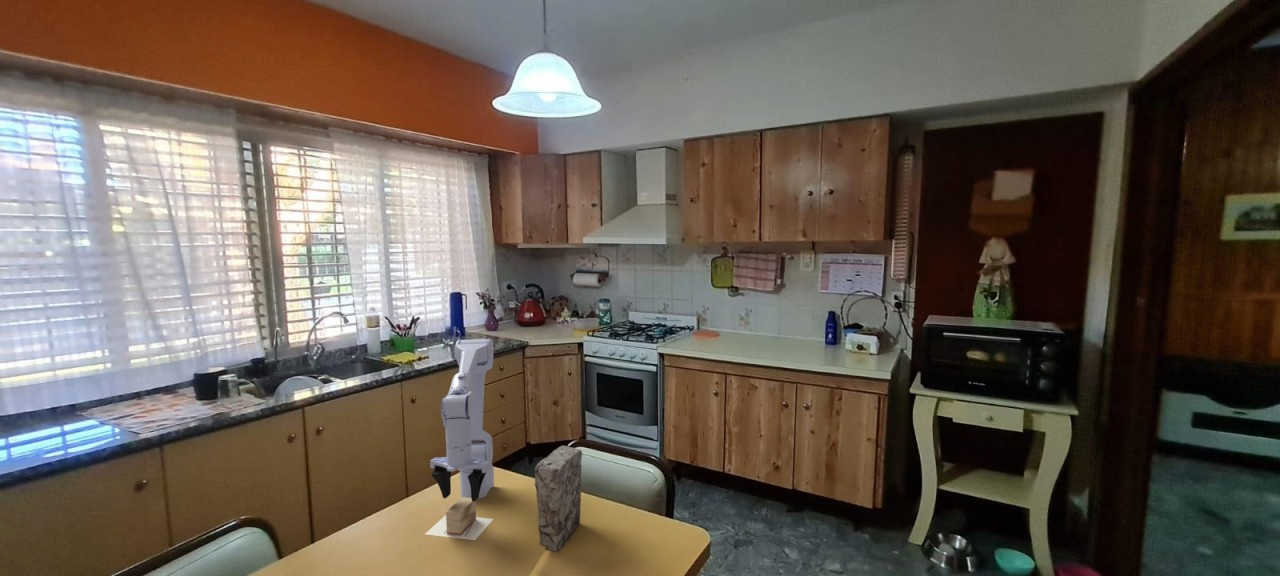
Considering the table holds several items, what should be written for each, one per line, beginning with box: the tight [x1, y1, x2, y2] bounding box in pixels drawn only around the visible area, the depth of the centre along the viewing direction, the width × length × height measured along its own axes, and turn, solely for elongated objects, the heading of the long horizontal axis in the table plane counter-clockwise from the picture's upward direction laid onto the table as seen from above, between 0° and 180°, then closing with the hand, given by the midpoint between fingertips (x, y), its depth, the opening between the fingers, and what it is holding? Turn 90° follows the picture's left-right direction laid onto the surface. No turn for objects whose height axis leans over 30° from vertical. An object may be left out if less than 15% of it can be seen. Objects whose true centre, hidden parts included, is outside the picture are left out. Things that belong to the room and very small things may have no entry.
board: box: [424, 514, 494, 541], centre depth 117 cm, size 9×13×1 cm
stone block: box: [534, 445, 583, 553], centre depth 114 cm, size 13×7×20 cm, turn 167°
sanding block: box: [445, 497, 477, 536], centre depth 117 cm, size 7×4×6 cm, turn 169°
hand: (461, 497), depth 116 cm, fingers open, 7 cm apart
